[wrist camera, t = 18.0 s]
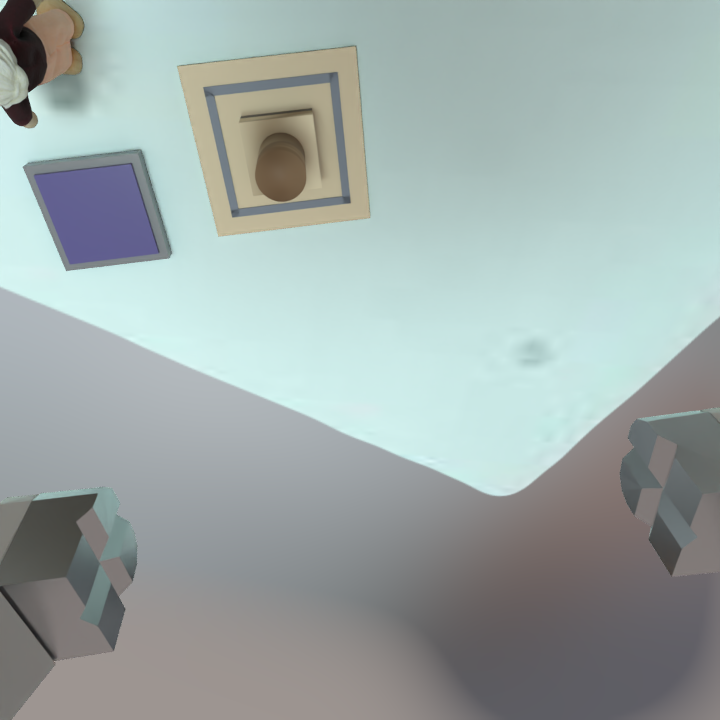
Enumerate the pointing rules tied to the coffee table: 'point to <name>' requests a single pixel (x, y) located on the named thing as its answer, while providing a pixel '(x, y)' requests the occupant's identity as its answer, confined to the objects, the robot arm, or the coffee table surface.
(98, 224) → the ink pad
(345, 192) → the card sheet
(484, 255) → the coffee table surface
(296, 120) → the stamp
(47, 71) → the grandmother figurine
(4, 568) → the robot arm
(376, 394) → the coffee table surface
